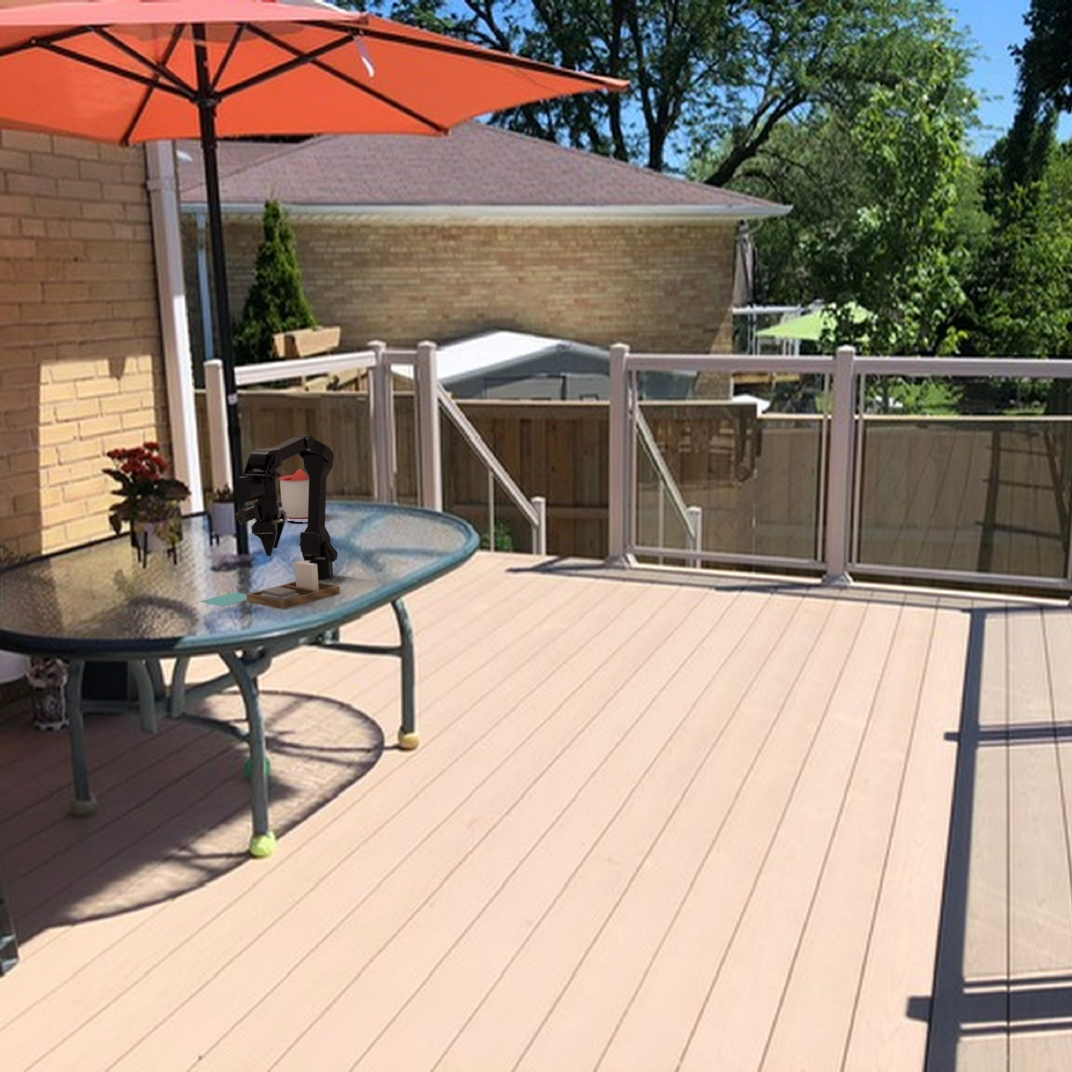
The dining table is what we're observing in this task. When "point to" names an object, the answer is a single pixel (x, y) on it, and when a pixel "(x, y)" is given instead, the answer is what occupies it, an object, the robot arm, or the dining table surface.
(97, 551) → the dining table surface
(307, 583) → the beige rectangular block
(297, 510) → the citrus juicer
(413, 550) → the dining table surface
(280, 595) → the offcut stack
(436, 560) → the dining table surface
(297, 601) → the wooden divided tray
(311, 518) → the robot arm
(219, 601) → the mat
